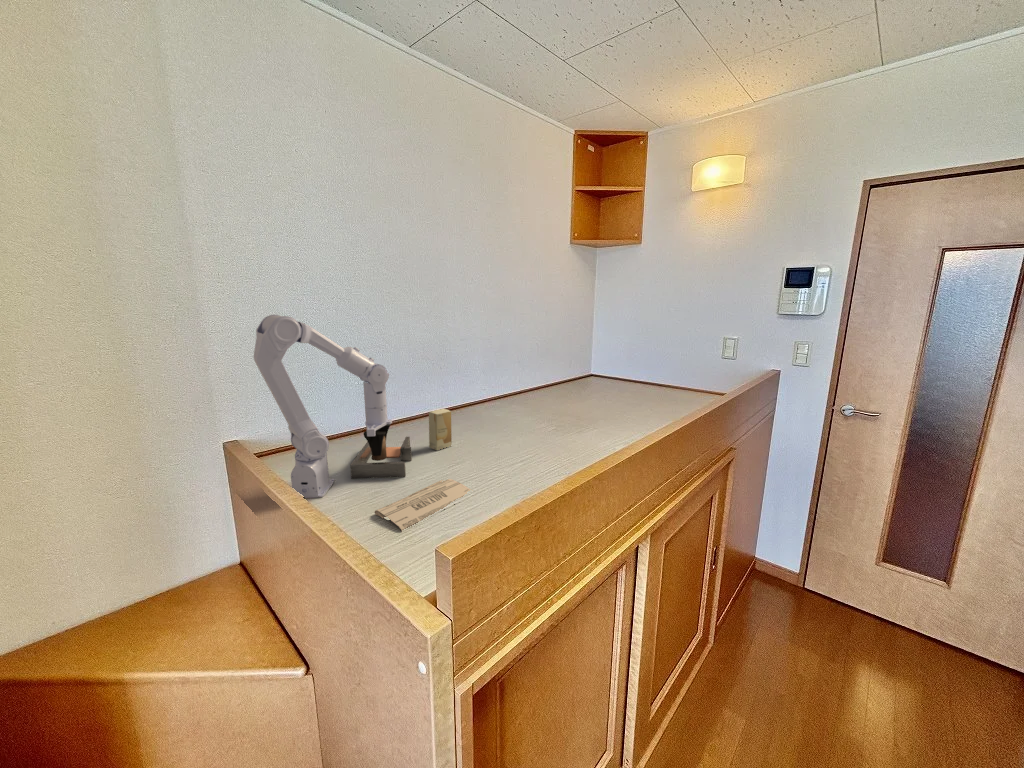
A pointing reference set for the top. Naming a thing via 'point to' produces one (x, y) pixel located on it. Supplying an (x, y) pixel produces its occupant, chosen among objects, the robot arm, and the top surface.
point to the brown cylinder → (383, 454)
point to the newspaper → (423, 503)
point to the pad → (393, 452)
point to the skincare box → (440, 429)
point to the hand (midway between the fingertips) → (378, 452)
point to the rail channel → (380, 464)
